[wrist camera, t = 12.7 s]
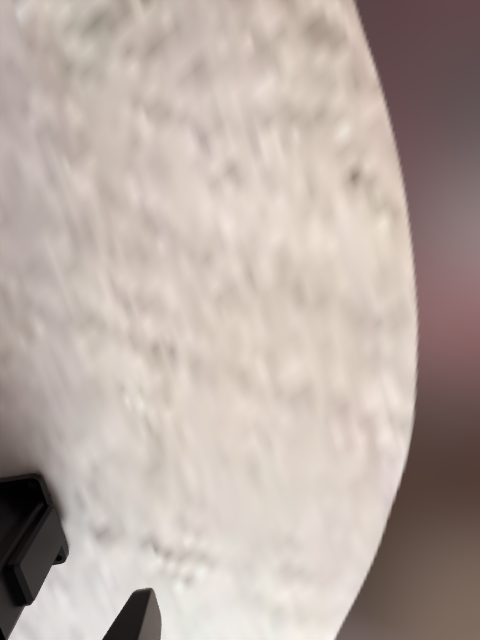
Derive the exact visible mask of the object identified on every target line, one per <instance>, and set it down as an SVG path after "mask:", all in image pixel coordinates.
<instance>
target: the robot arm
mask: <svg viewBox="0 0 480 640" xmlns="http://www.w3.org/2000/svg"><path fill="white" fill-rule="evenodd" d="M32 482H34V483H35V484H33V483H32ZM68 554H69V551H68V548H67V545H66V542H65V536H64V534H63V531H62V528H61V525H60V522H59V519H58V517H57V514H56V511H55V508H54V507H53V505H52V502H51V500H50V497H49V494H48V491H47V488H46V485H45V483H44V480H43V478H42V477H41V476H40V475H38V474H27V475H21V476H14V477H8V478H1V479H0V640H8V638H9V636H10V634H11V632H12V630H13V628H14V627H15V625H16V623H17V621H18V619H19V617H20V615H21V613H22V611H23V609H24V607H25V606H28V605H31V604H32V603H33V601H34V600H35V598H36V596H37V594H38V592H39V590H40V588H41V586H42V584H43V582H44V580H45V578H46V576H47V574H48V572H49V570H50V568H51V566H52V565H57V564H62V563H64V562H65V561H66V559H67V557H68ZM160 639H161V613H160V610H159V606H158V603H157V599H156V596H155V592H154V590H153V589H152V588H145V589H138V590H136V591H134V592H133V593H132V595H131V596H130V598H129V599H128V601H127V602H126V604H125V605H124V607H123V608H122V610H121V611H120V613H119V615H118V616H117V618H116V619H115V621H114V622H113V624H112V625H111V627H110V628H109V630H108V631H107V633H106V635H105V636H104V638H103V639H102V640H160Z"/></svg>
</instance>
